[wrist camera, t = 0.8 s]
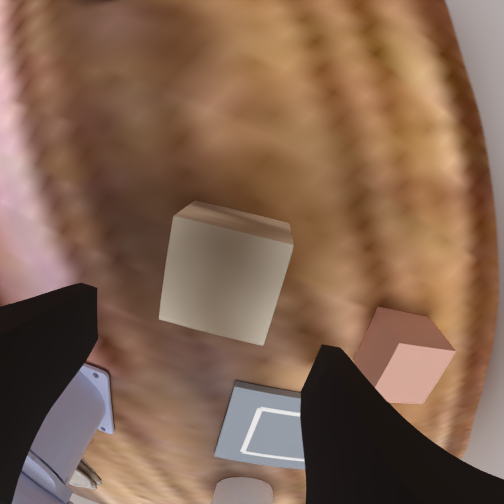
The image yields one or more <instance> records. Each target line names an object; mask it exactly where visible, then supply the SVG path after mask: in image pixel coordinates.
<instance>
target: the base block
mask: <svg viewBox="0 0 504 504" xmlns="http://www.w3.org/2000/svg"><path fill="white" fill-rule="evenodd" d="M293 248H294V242H293V238H292V234H291V229H290V225H289V223H287V222H283V221H279V220H275V219H271V218H267V217H263V216H259V215H255V214H251V213H247V212H243V211H239V210H235V209H231V208H226V207H222V206H218V205H214V204H209V203H205V202H201V201H196V200H195V201H193V202H192V203H190V204H189V205H188V206H186V207H185V208H183V209H182V210H181V211H179V212H178V213H177V214H175V215H174V216H173V222H172V227H171V234H170V240H169V246H168V253H167V259H166V266H165V273H164V281H163V288H162V296H161V305H160V313H159V319H160V320H164V321H167V322H171V323H174V324H178V325H181V326H185V327H189V328H192V329H196V330H200V331H204V332H208V333H212V334H216V335H220V336H224V337H228V338H232V339H236V340H240V341H245V342H249V343H253V344H258V345H262V346H263V345H264V342H265V339H266V335H267V332H268V329H269V326H270V323H271V320H272V317H273V313H274V310H275V307H276V304H277V301H278V297H279V294H280V291H281V288H282V284H283V281H284V278H285V274H286V271H287V268H288V264H289V261H290V258H291V254H292V251H293Z"/></svg>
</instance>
